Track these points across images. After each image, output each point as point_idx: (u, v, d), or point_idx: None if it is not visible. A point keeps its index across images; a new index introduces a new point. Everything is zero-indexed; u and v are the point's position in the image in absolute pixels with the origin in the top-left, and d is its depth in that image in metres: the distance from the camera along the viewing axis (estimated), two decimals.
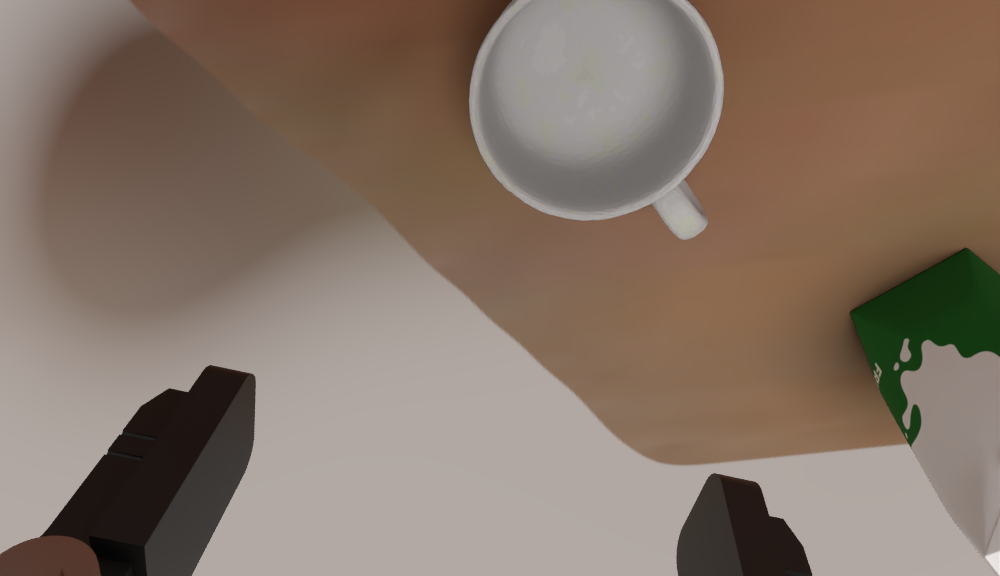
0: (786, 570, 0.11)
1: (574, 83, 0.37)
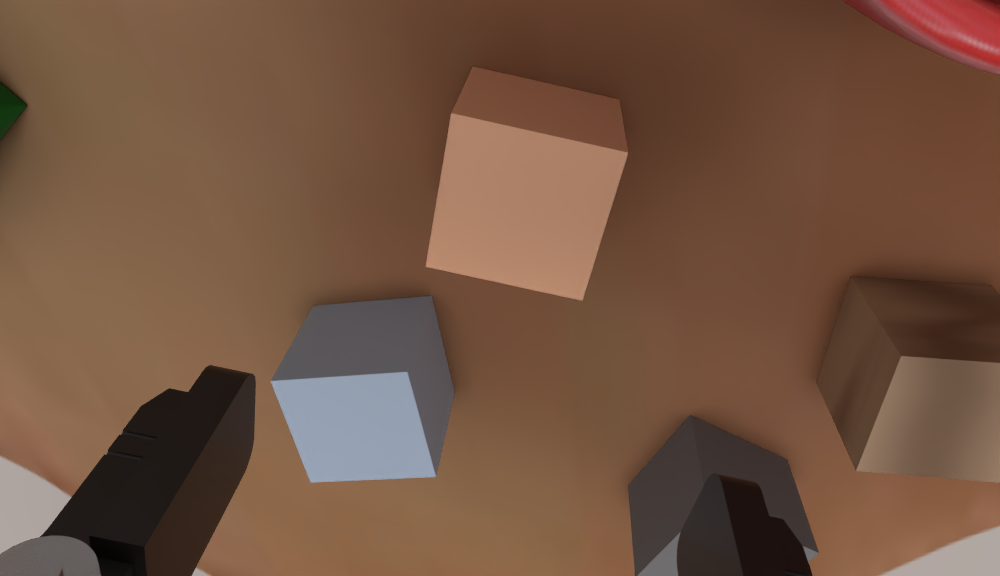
0: (786, 570, 0.11)
1: None
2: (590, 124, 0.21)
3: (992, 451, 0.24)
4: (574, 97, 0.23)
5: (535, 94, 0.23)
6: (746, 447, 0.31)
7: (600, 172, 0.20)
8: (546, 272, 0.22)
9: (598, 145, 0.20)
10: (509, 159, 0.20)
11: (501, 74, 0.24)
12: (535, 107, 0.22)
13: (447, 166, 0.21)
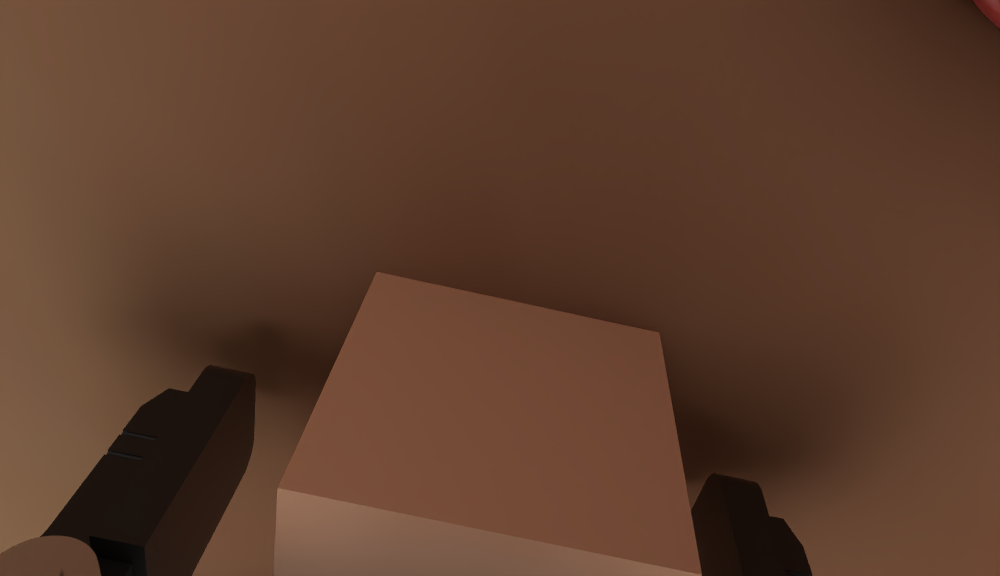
0: (786, 570, 0.11)
1: None
2: (608, 454, 0.10)
3: None
4: (572, 342, 0.12)
5: (494, 352, 0.11)
6: None
7: None
8: None
9: (631, 556, 0.08)
10: (424, 571, 0.09)
11: (432, 290, 0.12)
12: (490, 404, 0.10)
13: (285, 574, 0.09)
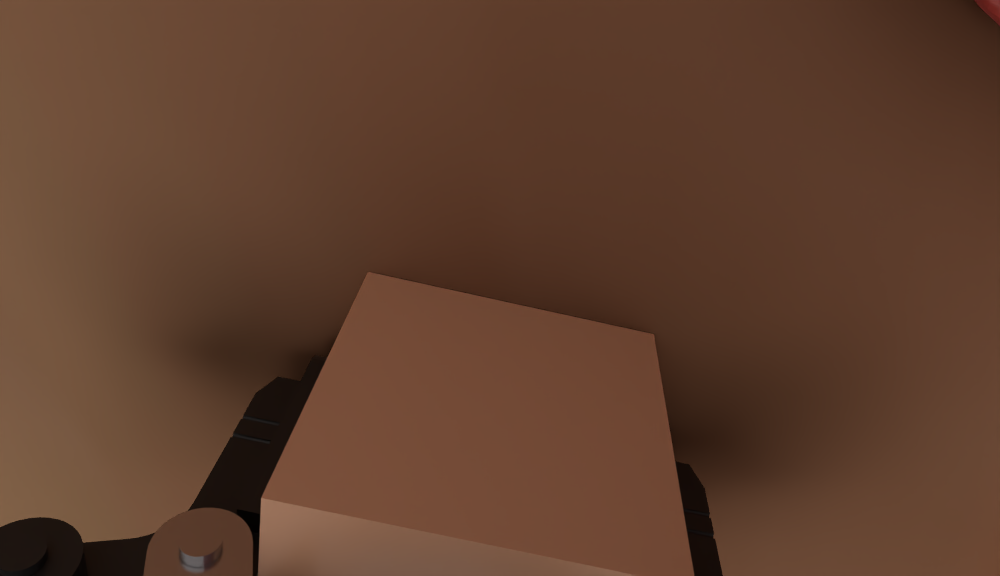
0: (684, 508, 0.12)
1: None
2: (601, 462, 0.10)
3: None
4: (566, 347, 0.12)
5: (486, 357, 0.11)
6: None
7: None
8: None
9: (623, 568, 0.08)
10: None
11: (423, 294, 0.12)
12: (481, 411, 0.10)
13: None
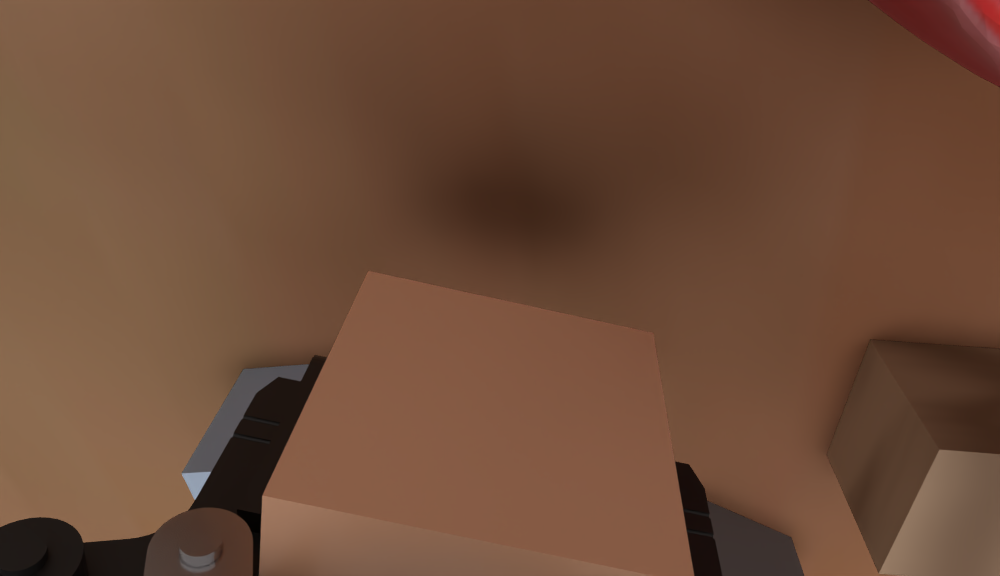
0: (684, 509, 0.12)
1: None
2: (600, 460, 0.10)
3: None
4: (566, 346, 0.12)
5: (486, 356, 0.11)
6: (746, 526, 0.27)
7: None
8: None
9: (624, 565, 0.08)
10: None
11: (423, 292, 0.12)
12: (481, 409, 0.10)
13: None
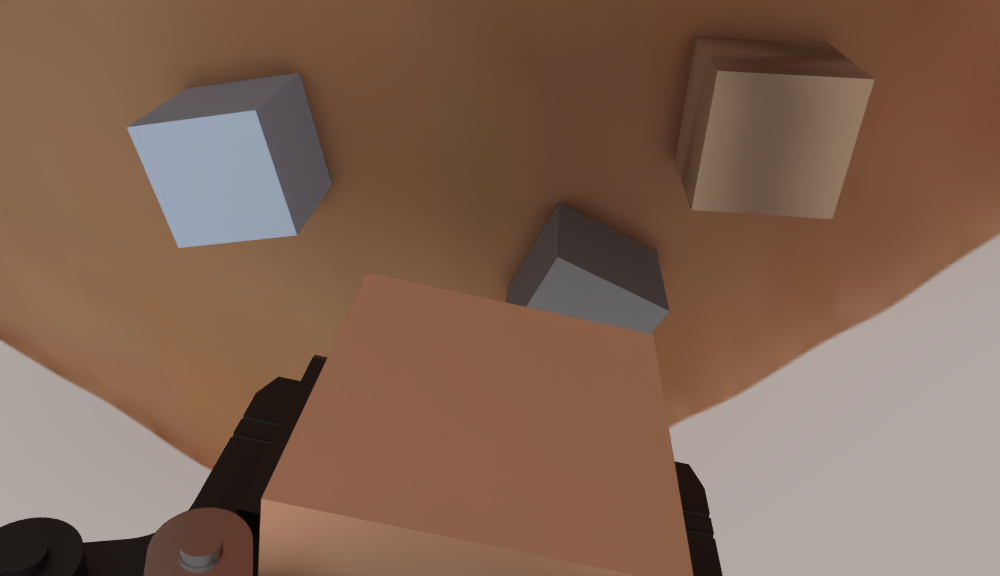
0: (684, 508, 0.12)
1: None
2: (601, 463, 0.10)
3: (816, 182, 0.25)
4: (566, 348, 0.12)
5: (486, 357, 0.11)
6: (614, 234, 0.32)
7: None
8: None
9: (623, 568, 0.08)
10: None
11: (422, 294, 0.12)
12: (480, 411, 0.10)
13: None
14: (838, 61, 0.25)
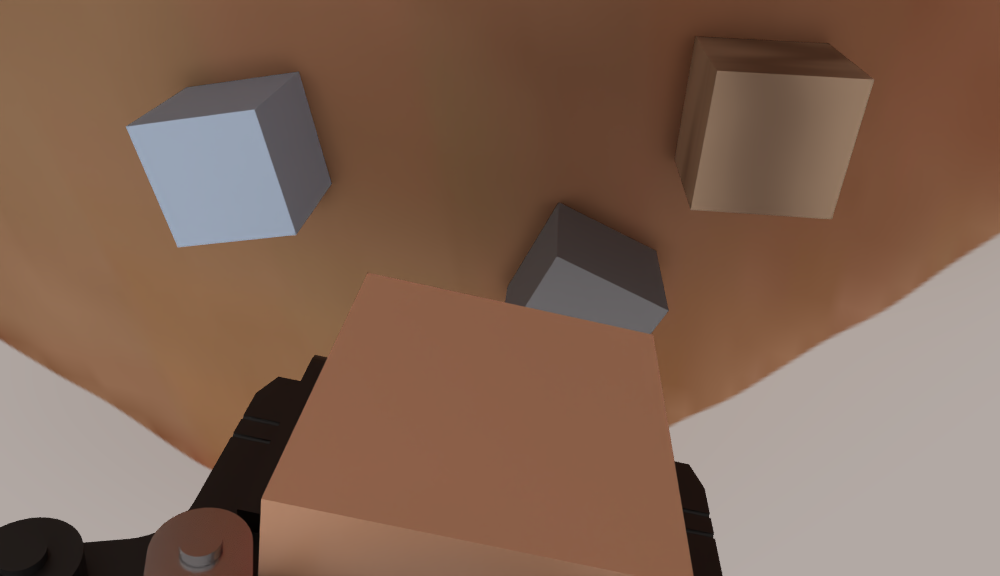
0: (684, 508, 0.12)
1: None
2: (601, 463, 0.10)
3: (815, 182, 0.25)
4: (566, 348, 0.12)
5: (485, 357, 0.11)
6: (613, 234, 0.32)
7: None
8: None
9: (623, 568, 0.08)
10: None
11: (422, 294, 0.12)
12: (480, 411, 0.10)
13: None
14: (838, 61, 0.25)
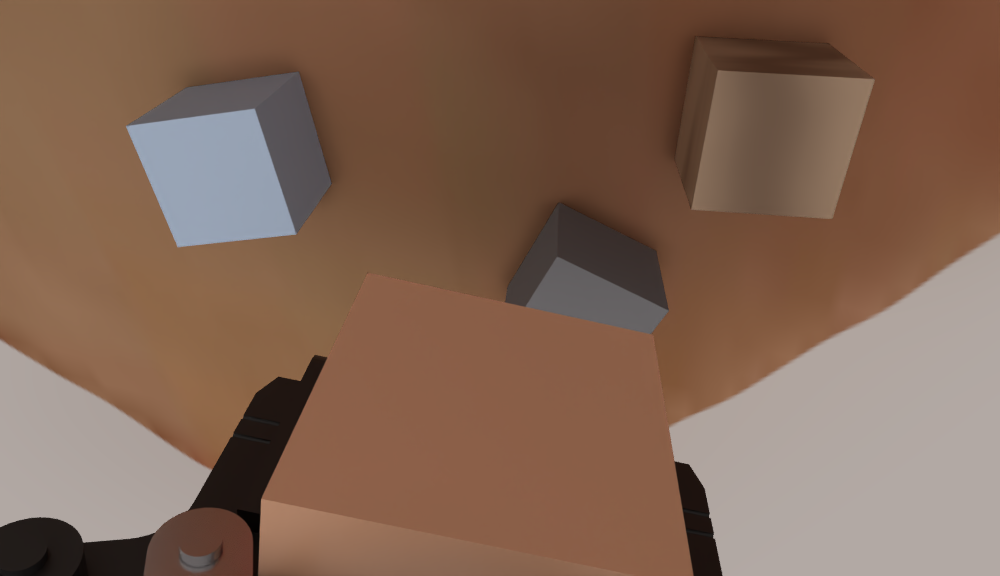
0: (684, 508, 0.12)
1: None
2: (601, 463, 0.10)
3: (816, 182, 0.25)
4: (566, 348, 0.12)
5: (485, 357, 0.11)
6: (613, 234, 0.32)
7: None
8: None
9: (623, 568, 0.08)
10: None
11: (422, 294, 0.12)
12: (480, 411, 0.10)
13: None
14: (838, 61, 0.25)
